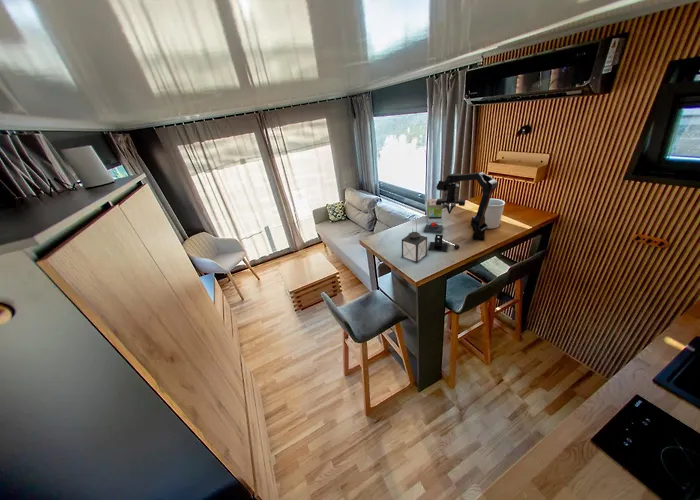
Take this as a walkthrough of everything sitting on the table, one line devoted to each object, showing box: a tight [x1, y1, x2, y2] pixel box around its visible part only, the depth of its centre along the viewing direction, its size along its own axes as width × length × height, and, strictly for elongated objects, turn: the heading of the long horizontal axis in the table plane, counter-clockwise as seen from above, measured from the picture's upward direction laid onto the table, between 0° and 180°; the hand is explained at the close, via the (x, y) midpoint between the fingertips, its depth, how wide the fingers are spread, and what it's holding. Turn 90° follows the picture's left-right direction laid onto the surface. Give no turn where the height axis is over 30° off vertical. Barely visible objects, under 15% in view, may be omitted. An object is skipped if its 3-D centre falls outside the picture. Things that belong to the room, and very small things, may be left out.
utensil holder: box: [485, 197, 506, 229], centre depth 179 cm, size 15×15×18 cm
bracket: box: [428, 234, 449, 253], centre depth 163 cm, size 11×10×8 cm
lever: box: [437, 236, 460, 250], centre depth 160 cm, size 15×3×3 cm, turn 68°
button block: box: [423, 223, 444, 234], centre depth 185 cm, size 12×10×4 cm
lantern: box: [401, 214, 428, 264], centre depth 152 cm, size 11×11×28 cm
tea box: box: [426, 198, 444, 224], centre depth 199 cm, size 15×10×15 cm
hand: (449, 213), depth 180 cm, fingers closed
